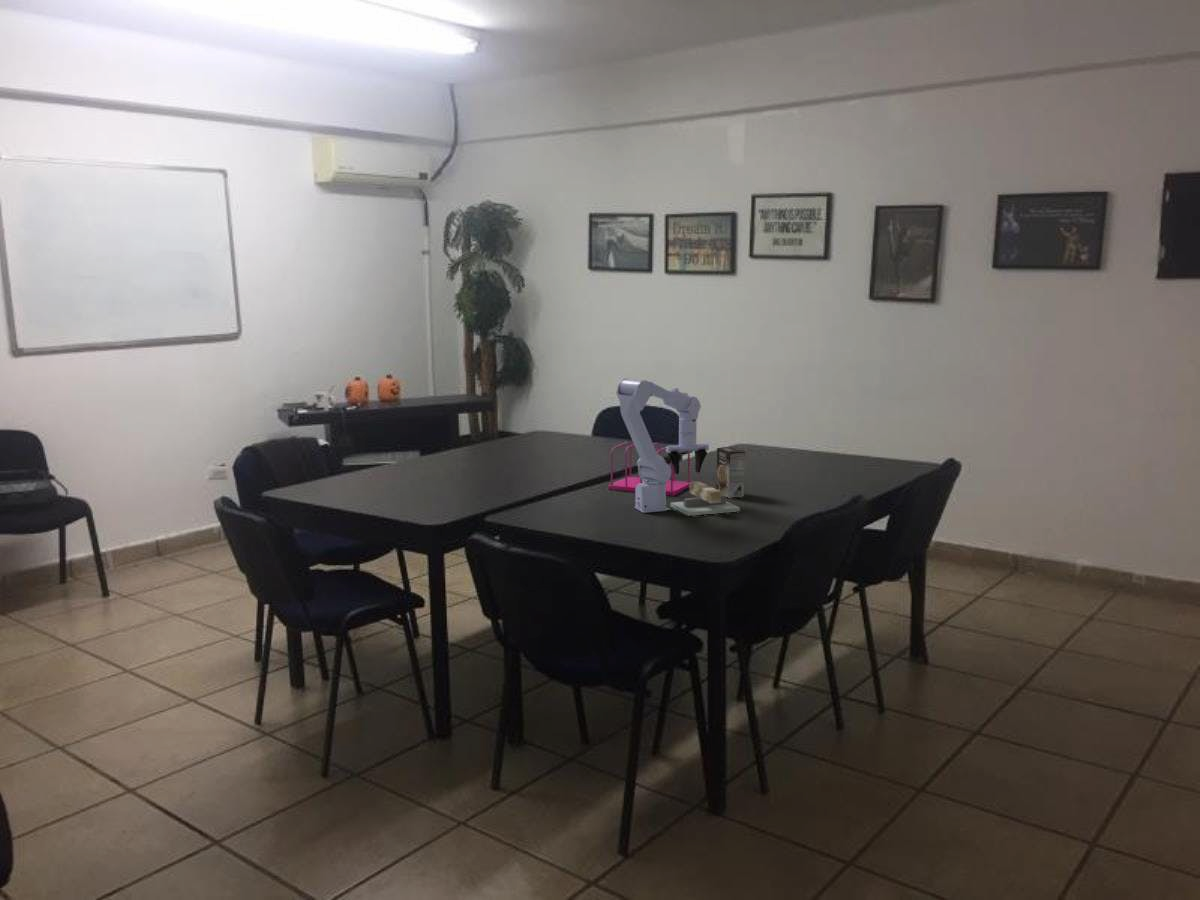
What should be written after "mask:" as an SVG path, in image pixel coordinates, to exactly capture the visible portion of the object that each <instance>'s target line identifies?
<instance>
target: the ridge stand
mask: <svg viewBox="0 0 1200 900" xmlns="http://www.w3.org/2000/svg"><path fill="white" fill-rule="evenodd" d="M669 505H670V506H671V507H673V508H674V509H673V508H672V509H673V510H675V509H676V510H678V511H680V512H682V513H684V514H686V515H688V516H689V515H701V514H715V515H717V514H716V513H724V512H736V511H740V512H741V507H740V506H738V505H735V504H733V503H731V502H728V501H727V498H726V496H724V495H721V502H719V503H709V502H707V501H705V500H703V499H701V498H699V497H697V496H695V497H688V498H687V497H686V498H683V501H675V502H673V501H672V502H670V503H669ZM671 507H670V508H671ZM676 510H675V511H676ZM678 511H677V512H678ZM680 512H679V513H680ZM682 513H681V514H682ZM684 514H683V515H684Z"/></svg>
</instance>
